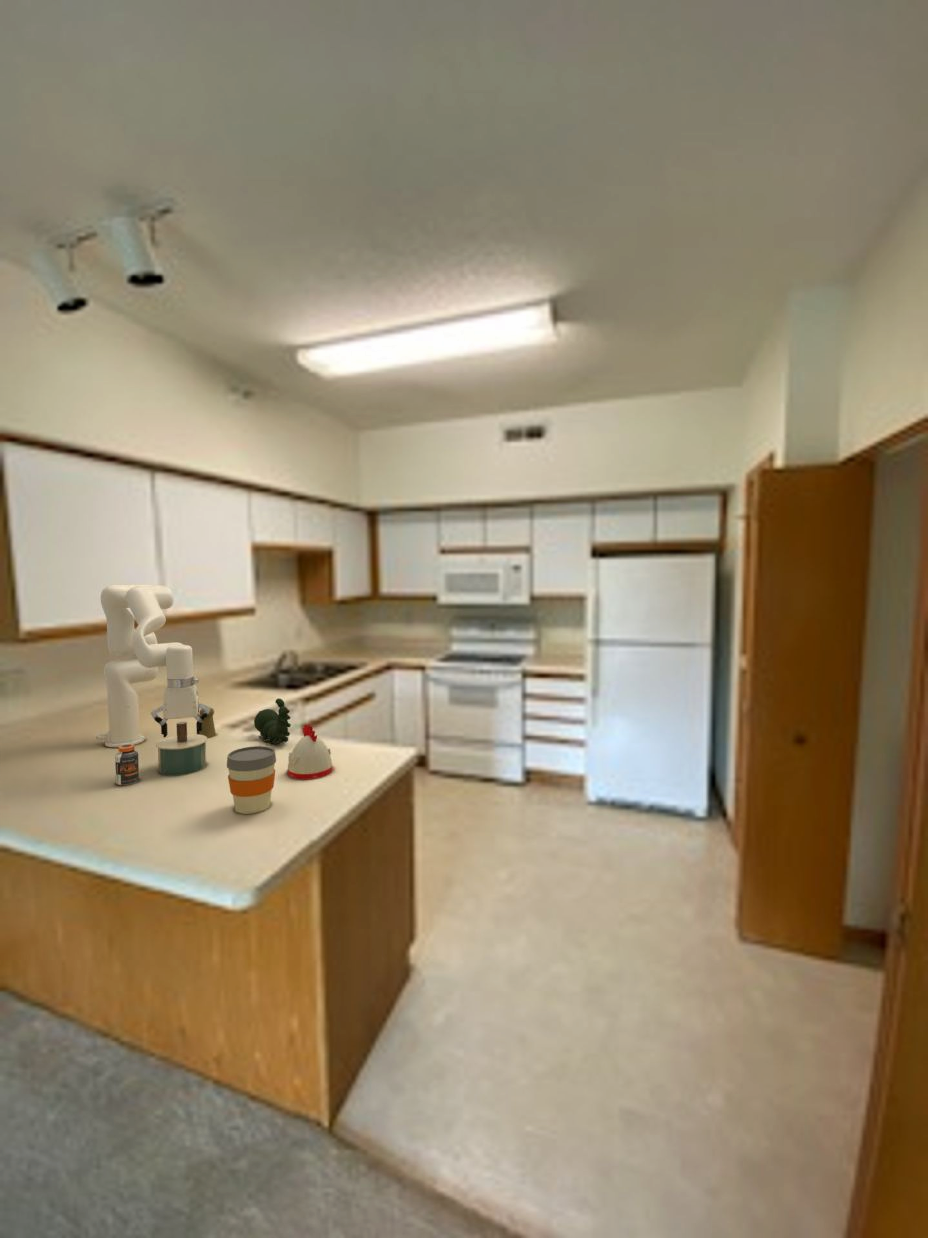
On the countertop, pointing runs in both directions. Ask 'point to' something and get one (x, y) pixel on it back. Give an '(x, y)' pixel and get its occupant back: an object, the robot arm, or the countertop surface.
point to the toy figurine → (273, 723)
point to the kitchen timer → (309, 757)
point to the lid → (181, 739)
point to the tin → (182, 760)
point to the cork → (208, 724)
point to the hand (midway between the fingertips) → (182, 734)
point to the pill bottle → (127, 765)
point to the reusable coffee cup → (251, 778)
